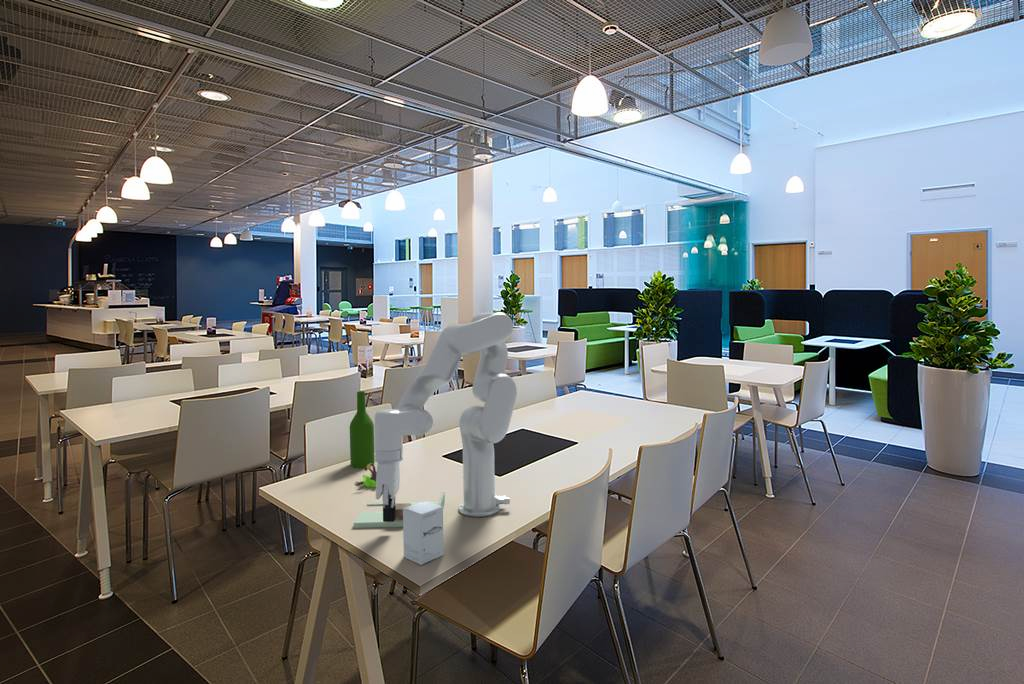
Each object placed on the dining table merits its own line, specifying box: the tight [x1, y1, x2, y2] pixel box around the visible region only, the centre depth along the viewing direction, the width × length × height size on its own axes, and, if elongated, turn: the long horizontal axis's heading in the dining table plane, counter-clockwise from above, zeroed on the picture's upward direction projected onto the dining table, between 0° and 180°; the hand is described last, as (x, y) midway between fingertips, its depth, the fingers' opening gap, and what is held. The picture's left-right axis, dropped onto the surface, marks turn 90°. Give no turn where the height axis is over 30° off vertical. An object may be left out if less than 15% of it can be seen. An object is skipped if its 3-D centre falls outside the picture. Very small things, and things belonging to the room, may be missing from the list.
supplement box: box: [402, 500, 445, 566], centre depth 132 cm, size 7×7×13 cm
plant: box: [354, 463, 377, 488], centre depth 183 cm, size 20×20×11 cm
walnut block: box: [395, 502, 411, 520], centre depth 153 cm, size 5×5×3 cm
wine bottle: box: [349, 390, 376, 469], centre depth 203 cm, size 9×9×32 cm
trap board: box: [353, 491, 446, 529], centre depth 157 cm, size 24×16×6 cm, turn 92°
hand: (389, 520), depth 146 cm, fingers closed
